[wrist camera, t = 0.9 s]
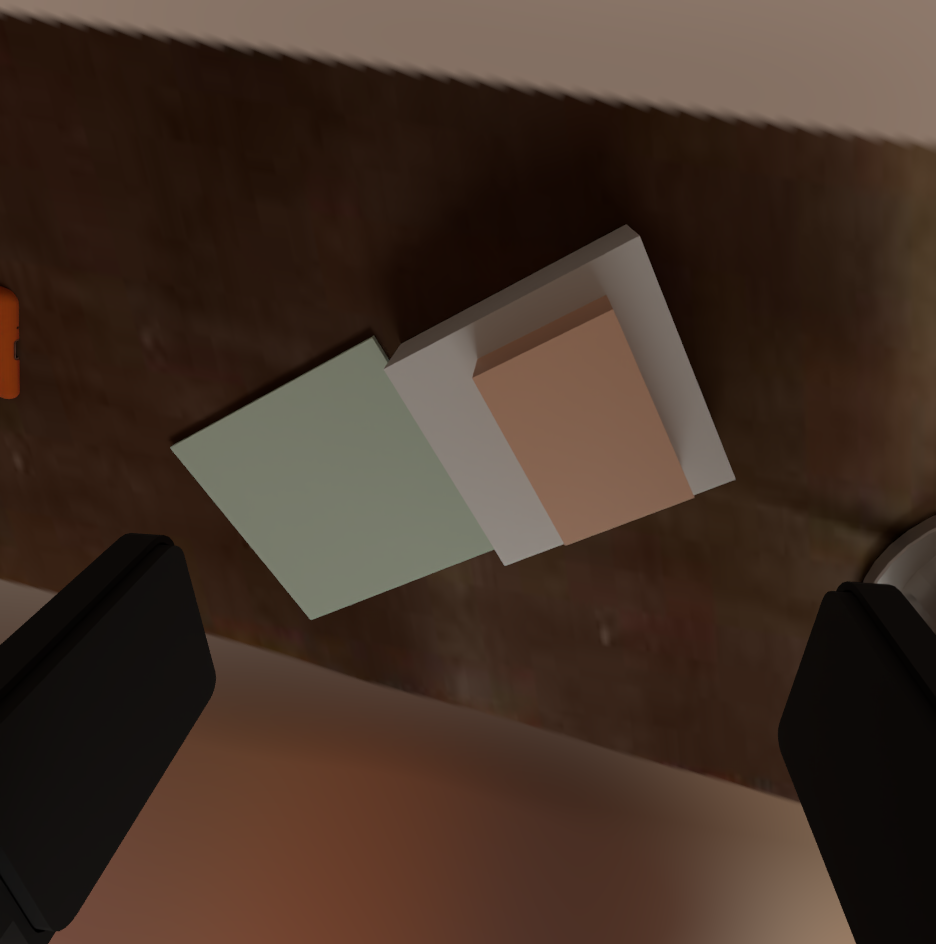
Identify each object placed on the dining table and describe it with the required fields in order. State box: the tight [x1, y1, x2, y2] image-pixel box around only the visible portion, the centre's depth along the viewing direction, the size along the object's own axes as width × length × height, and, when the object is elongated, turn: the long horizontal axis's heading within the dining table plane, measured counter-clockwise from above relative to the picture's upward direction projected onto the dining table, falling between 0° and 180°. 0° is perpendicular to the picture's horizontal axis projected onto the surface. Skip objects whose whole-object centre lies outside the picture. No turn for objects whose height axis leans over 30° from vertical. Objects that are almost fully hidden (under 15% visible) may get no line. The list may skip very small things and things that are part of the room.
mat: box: [170, 336, 494, 620], centre depth 35 cm, size 14×14×1 cm
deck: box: [384, 225, 735, 566], centre depth 29 cm, size 12×12×4 cm
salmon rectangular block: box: [472, 295, 695, 546], centre depth 26 cm, size 9×6×2 cm, turn 29°
